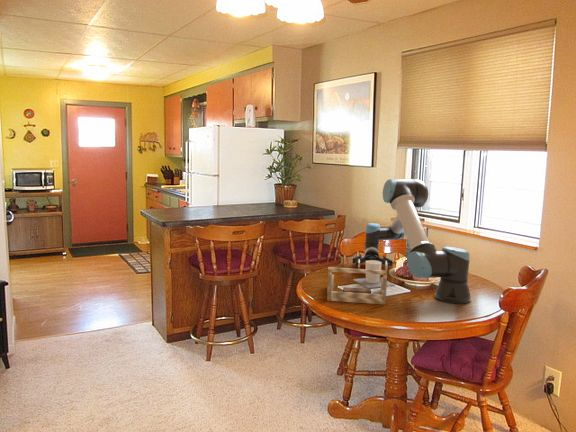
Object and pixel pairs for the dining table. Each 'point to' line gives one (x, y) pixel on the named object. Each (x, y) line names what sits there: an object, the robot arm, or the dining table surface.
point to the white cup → (373, 266)
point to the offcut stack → (357, 290)
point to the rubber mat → (371, 285)
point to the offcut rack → (356, 296)
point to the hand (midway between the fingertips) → (372, 266)
